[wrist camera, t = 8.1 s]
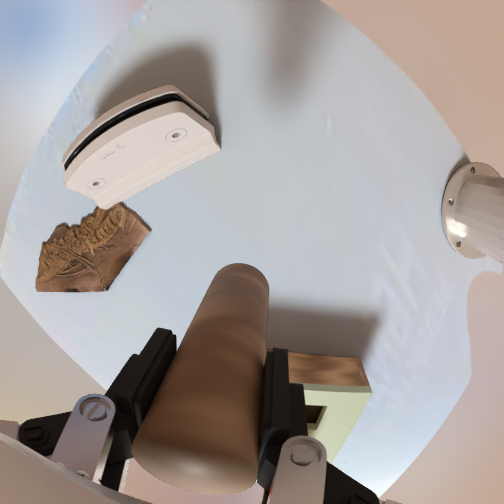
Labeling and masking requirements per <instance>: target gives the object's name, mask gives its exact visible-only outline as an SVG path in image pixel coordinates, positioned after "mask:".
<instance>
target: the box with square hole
mask: <svg viewBox="0 0 504 504" xmlns="http://www.w3.org/2000/svg"><path fill="white" fill-rule="evenodd" d="M267 351H273V350H269V349H266V355H267ZM288 365H289V382H297V383H309V384H322V385H340V386H370V385H369V382H368V379H367V376H366V374H365V371H364V368H363V366H362V363H361V360H360V358H349V357H335V356H323V355H312V354H303V353H293V352H288ZM322 409H323V406H319V405H306V416H307V423H315V424H316V422H317V420H318V418H319V415H320V413H321V411H322Z"/></svg>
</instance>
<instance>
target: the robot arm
mask: <svg viewBox="0 0 504 504" xmlns="http://www.w3.org/2000/svg"><path fill="white" fill-rule="evenodd" d="M442 223H443V229H444V232H445V235H446V238H447V240H448V242H449V243H450V245H451V246H452V248H453V249H454V250H455V251H456V252H458V253H459V254H461V255H463V256H464V257H466V258H471V259H477V258H481V257H484V256H486V255H487V256H489V257H491V258H493V259H494V260H496V261H498V262H500V263H501V264H503V265H504V178H501V176H500V175H499V173H498V172H497V171H496V170H495V169H494V168H492V167H491V166H489V165H487V164H484V163H478V162H474V163H468V164H466V165H464V166H462V167H461V168H459V169H458V170H457V171H456V172H455V174H454V175H453V176H452V178H451V179H450V181H449V183H448V185H447V188H446V190H445V193H444V198H443V203H442ZM176 352H177V344H176V335H174V334H172V331H171V330H168V329H163V328H157V329H156V330H155V332H154V333H153V335H152V336H151V338H150V339H149V341H148V342H147V344H146V345H145V347H144V348H143V350H142V351H141V353H140V354H139V355H137V354H133V355H132V356H131V357H130V358H129V360H128V361H127V363H126V364H125V365H124V367H123V368H122V370H121V371H120V373H119V374H118V376H117V377H116V379H115V380H114V382H113V383H112V385H111V386H110V388H109V389H108V391H107V392H106V394H105V395H101V394H88V395H86V396H83V397H82V398H80V399H79V400H78V402H77V403H76V405H75V407H74V409H73V411H71V412H66V413H61V414H57V415H51V416H46V417H40V418H35V419H30V420H27V421H25V422H24V423H23V424H22V425H20V424H19V423H18V422H15V421H5V420H0V504H152V503H149V502H146V501H142V500H140V499H136V498H134V497H131V496H128V495H125V494H123V490H124V485H125V481H126V476H127V472H128V467H129V463H130V458H133V454H132V451H131V446H132V444H133V441H134V439H135V437H136V435H137V433H138V431H139V429H140V426H141V424H142V422H143V420H144V418H145V416H146V414H147V412H148V410H149V407H150V405H151V403H152V401H153V399H154V397H155V395H156V393H157V391H158V389H159V387H160V385H161V382H162V380H163V378H164V376H165V374H166V372H167V370H168V368H169V366H170V364H171V362H172V360H173V358H174V356H175V354H176ZM258 446H259V460H258V472H257V483H258V484H259V485H261V486H262V487H263V488H264V491H263V495H262V499H261V502H260V504H401V503H398V502H394V501H391V500H387V499H386V500H385V501H381V500H379V499H378V497H377V495H376V494H375V493H374V492H372V491H371V490H370V489H368V488H366V487H365V486H363V485H362V484H360V483H359V482H357V481H355V480H354V479H352V478H351V477H349V476H348V475H346V474H345V473H343V472H342V471H341V470H339V469H338V468H336V467H335V466H333V465H332V464H330V463H329V462H328V461H327V452H326V449H325V447H324V445H323V444H322V443H321V442H320V441H319V440H317V439H315V438H313V437H309V436H308V428H307V416H306V405H305V394H304V386H303V384H300V383H290V382H289V365H288V350H287V349H279V348H273V351H267V355H266V360H265V364H264V374H263V388H262V402H261V415H260V428H259V441H258Z"/></svg>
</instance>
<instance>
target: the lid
mask: <svg viewBox="0 0 504 504" xmlns="http://www.w3.org/2000/svg"><path fill="white" fill-rule="evenodd" d="M290 383H297V382H290ZM300 384H303V386H304V394H305V405H319V406H323V409H322V411H321V413H320V415H319V418H318V420H317V422H316V424H315V423H307V428H308V436H309V437H313V438H315V439H317V440H319V441H320V442H321V443H322V444H323V445H324V447H325V449H326V452H327V461H328V462H329V463H330V464H331V463H332V461H333V460H334V458H335V457H336V455H337V453H338V452H339V450H340V449H341V447H342V446H343V444H344V442H345V441H346V439H347V437H348V436H349V434H350V432H351V431H352V429H353V427H354V426H355V424H356V422H357V420H358V419H359V417H360V415H361V413H362V411H363V410H364V408H365V406H366V404H367V402H368V400H369V398H370V396H371V394H372V390H371V388H370V386H340V385H322V384H309V383H300Z"/></svg>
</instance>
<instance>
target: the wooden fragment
mask: <svg viewBox="0 0 504 504" xmlns="http://www.w3.org/2000/svg"><path fill="white" fill-rule="evenodd" d="M150 231H152V230H151V229H150V228H149V227H148V226H147V225H146V224H145V223H144V222H143V221H142V220H141V218H140V217H139V216H138V214H137V213H136V212H134V211H132V210H128V209H127V208H125V207H124V206H123V205H122V203H121V202H120V203H117V204H115V205H113V206H112V207H111V208H109V209H107V210H106V209H102V208H99V207H98V208H97V209H96V210H95V211H94V212H93V215H92V216H90V217H87V218H86V219H82V220H81V226H78V227H73V228H69V227H67V226H64V225H62V226H59V227H57V228H55V231H54V233H53V234H52V236H51V237H50V239H49V240H48V241H47V243H42V250H41V253H40V258H39V267H38V276H37V278H36V286H35V288H36V291H37V292H91V291H92V292H93V291H95V292H102V291H108V289H109V288H110V285H111V284H112V283H113V281H114V280H115V278H116V277H117V276H118V274H119V273H120V271H121V270H122V268H123V267H124V266H125V264H126V263H127V262H128V260H129V259H130V258H131V256H132V255H133V254H134V252H135V251H136V250H137V247H139V246H140V244H141V243H142V241H143V240H144V238H145V237H146V236H147V234H148V233H149V232H150ZM103 286H105V289H106V290H104V288H103Z"/></svg>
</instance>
